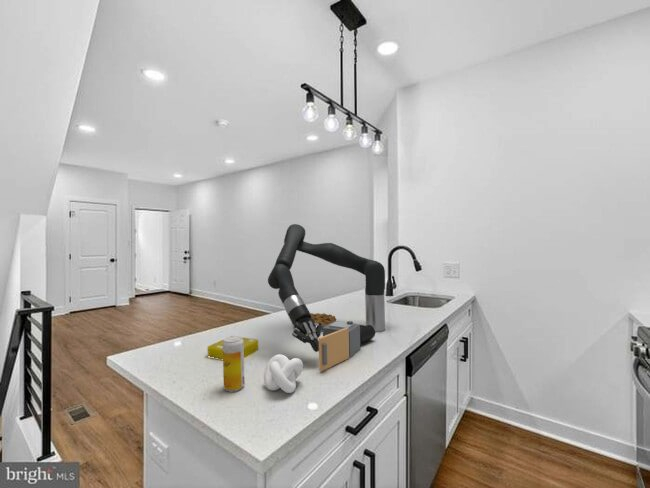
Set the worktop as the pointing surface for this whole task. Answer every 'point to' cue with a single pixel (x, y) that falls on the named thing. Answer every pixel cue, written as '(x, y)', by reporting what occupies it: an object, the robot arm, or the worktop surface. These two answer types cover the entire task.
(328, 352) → the side door
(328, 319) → the pie
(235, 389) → the amber medicine vial
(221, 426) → the worktop surface
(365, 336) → the end cap
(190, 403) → the worktop surface
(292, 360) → the white decorative knot
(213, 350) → the element tile
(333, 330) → the grey matte box
